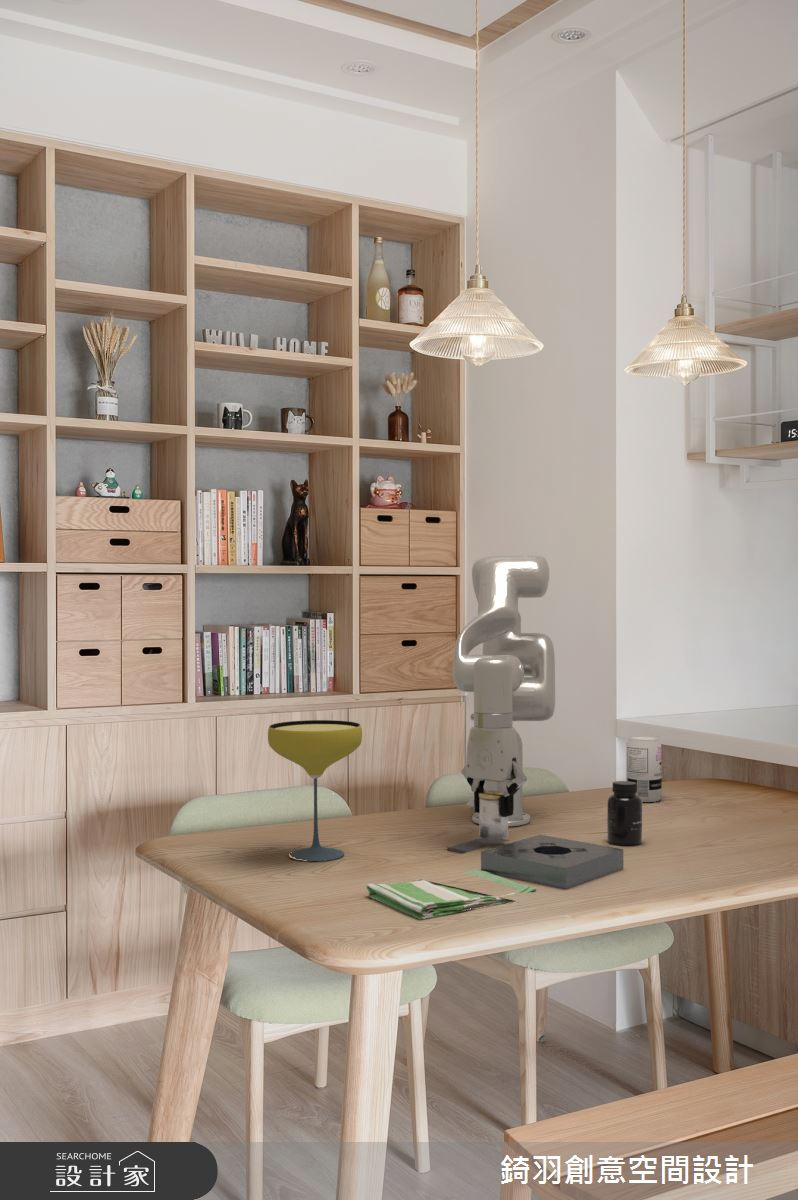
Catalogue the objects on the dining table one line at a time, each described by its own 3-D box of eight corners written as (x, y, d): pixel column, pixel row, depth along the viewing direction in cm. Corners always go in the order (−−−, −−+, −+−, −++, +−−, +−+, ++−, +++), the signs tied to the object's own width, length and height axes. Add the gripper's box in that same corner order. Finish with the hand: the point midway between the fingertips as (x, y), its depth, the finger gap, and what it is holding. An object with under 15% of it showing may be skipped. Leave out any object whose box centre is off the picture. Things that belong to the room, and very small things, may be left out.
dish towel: (539, 900, 184) (539, 884, 184) (422, 924, 171) (422, 907, 171) (474, 877, 199) (474, 862, 199) (362, 898, 186) (361, 882, 186)
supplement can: (622, 797, 272) (621, 736, 271) (655, 796, 272) (654, 735, 272) (632, 803, 264) (632, 740, 263) (666, 802, 264) (666, 739, 264)
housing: (481, 876, 197) (480, 851, 197) (540, 858, 211) (540, 834, 211) (566, 895, 185) (566, 868, 185) (623, 874, 199) (623, 849, 198)
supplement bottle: (642, 847, 219) (642, 786, 219) (607, 845, 221) (606, 785, 221) (642, 839, 226) (641, 780, 226) (607, 838, 228) (607, 779, 227)
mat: (447, 850, 218) (447, 847, 218) (488, 839, 227) (488, 836, 227) (500, 860, 209) (500, 857, 209) (540, 848, 219) (540, 845, 219)
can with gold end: (472, 836, 218) (472, 793, 218) (491, 831, 222) (490, 789, 222) (496, 840, 214) (496, 796, 214) (514, 835, 218) (514, 792, 218)
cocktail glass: (270, 845, 223) (268, 720, 222) (360, 843, 224) (359, 719, 224) (267, 868, 205) (266, 732, 204) (365, 865, 206) (364, 730, 206)
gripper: (447, 720, 221) (447, 811, 221) (517, 726, 209) (517, 822, 209) (470, 716, 227) (471, 805, 227) (540, 722, 215) (541, 816, 215)
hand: (493, 812), depth 218 cm, fingers closed on can with gold end, 5 cm apart
